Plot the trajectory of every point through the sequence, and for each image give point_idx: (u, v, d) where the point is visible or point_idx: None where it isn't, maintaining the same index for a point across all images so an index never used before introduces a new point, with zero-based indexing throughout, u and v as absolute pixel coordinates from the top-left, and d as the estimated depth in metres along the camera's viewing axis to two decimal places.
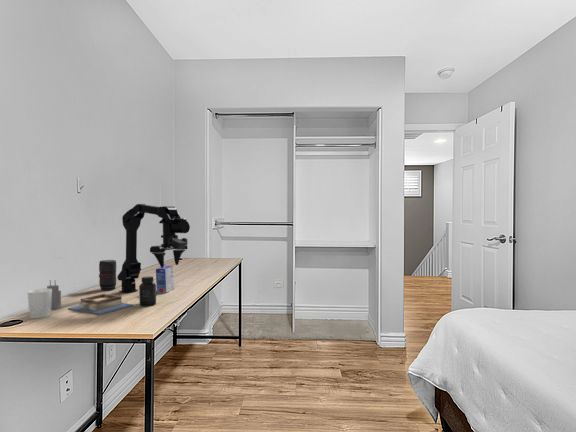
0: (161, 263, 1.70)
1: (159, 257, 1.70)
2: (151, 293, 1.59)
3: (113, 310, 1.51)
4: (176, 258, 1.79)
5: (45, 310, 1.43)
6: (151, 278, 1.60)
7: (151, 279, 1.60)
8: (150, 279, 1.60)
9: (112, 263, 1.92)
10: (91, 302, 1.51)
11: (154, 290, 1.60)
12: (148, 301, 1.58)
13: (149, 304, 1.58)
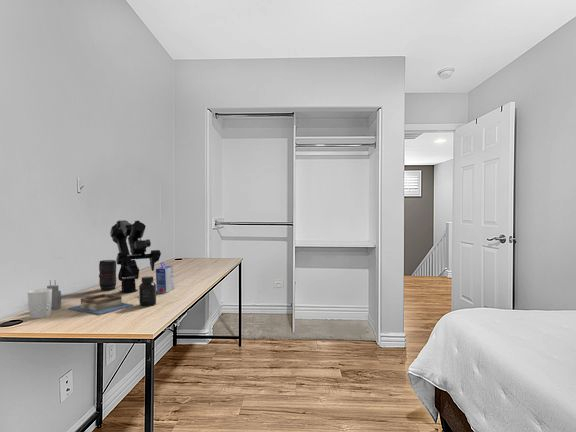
0: (129, 268, 1.65)
1: (126, 265, 1.67)
2: (151, 293, 1.59)
3: (113, 310, 1.51)
4: (151, 265, 1.73)
5: (45, 310, 1.43)
6: (151, 278, 1.60)
7: (151, 279, 1.60)
8: (150, 279, 1.60)
9: (112, 263, 1.92)
10: (91, 302, 1.51)
11: (154, 290, 1.60)
12: (148, 301, 1.58)
13: (149, 304, 1.58)
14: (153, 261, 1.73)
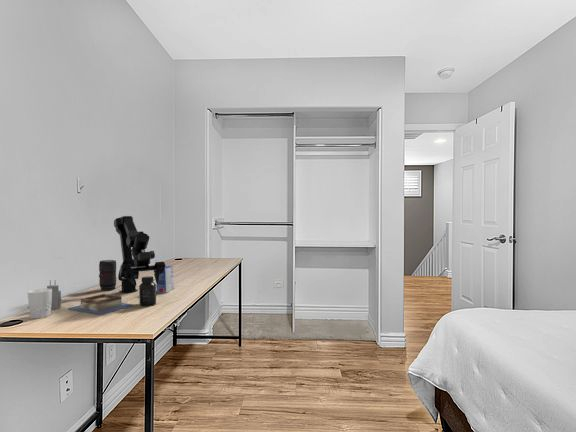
0: (133, 281, 1.60)
1: (130, 277, 1.62)
2: (151, 293, 1.59)
3: (113, 310, 1.51)
4: (155, 277, 1.67)
5: (45, 310, 1.43)
6: (151, 278, 1.60)
7: (151, 279, 1.60)
8: (150, 279, 1.60)
9: (112, 263, 1.92)
10: (91, 302, 1.51)
11: (154, 290, 1.60)
12: (148, 301, 1.58)
13: (149, 304, 1.58)
14: (157, 273, 1.67)
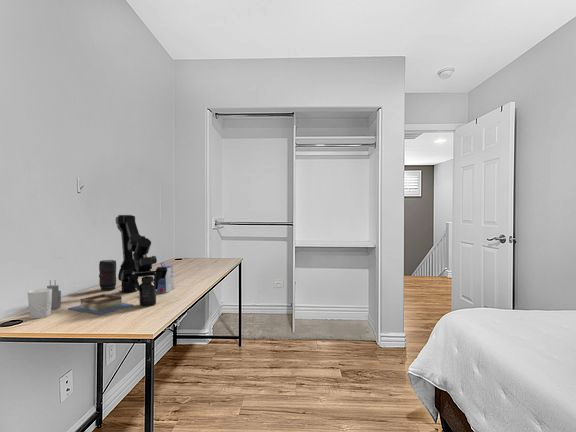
0: (137, 287, 1.59)
1: (134, 283, 1.60)
2: (151, 293, 1.59)
3: (113, 310, 1.51)
4: (155, 283, 1.64)
5: (45, 310, 1.43)
6: (151, 278, 1.60)
7: (151, 279, 1.60)
8: (150, 279, 1.60)
9: (112, 263, 1.92)
10: (91, 302, 1.51)
11: (154, 290, 1.60)
12: (148, 301, 1.58)
13: (149, 304, 1.58)
14: (157, 279, 1.64)
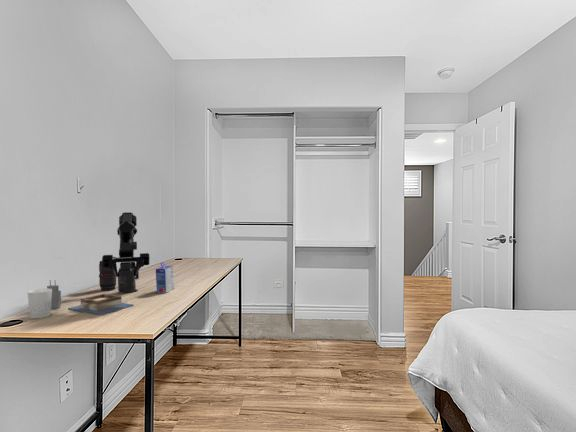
0: (115, 272, 1.56)
1: (114, 268, 1.59)
2: (128, 280, 1.55)
3: (113, 310, 1.51)
4: (135, 269, 1.60)
5: (45, 310, 1.43)
6: (129, 264, 1.57)
7: (128, 265, 1.57)
8: (127, 265, 1.56)
9: None
10: (91, 302, 1.51)
11: (131, 276, 1.56)
12: (125, 287, 1.55)
13: (126, 290, 1.55)
14: (137, 265, 1.60)
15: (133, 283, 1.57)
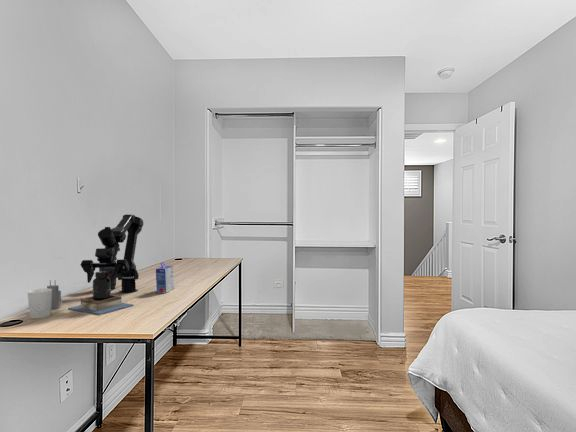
0: None
1: None
2: (100, 289, 1.54)
3: (113, 310, 1.51)
4: None
5: (45, 310, 1.43)
6: (102, 273, 1.55)
7: (102, 275, 1.55)
8: (101, 274, 1.55)
9: None
10: (91, 302, 1.51)
11: (103, 286, 1.54)
12: (96, 296, 1.54)
13: (97, 300, 1.54)
14: (114, 271, 1.58)
15: (106, 293, 1.55)
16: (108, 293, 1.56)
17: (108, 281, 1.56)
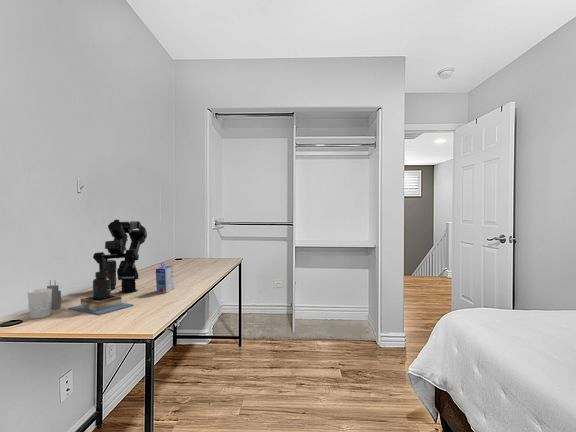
0: None
1: None
2: (100, 289, 1.54)
3: (113, 310, 1.51)
4: None
5: (45, 310, 1.43)
6: (102, 273, 1.55)
7: (102, 274, 1.55)
8: (101, 274, 1.55)
9: (112, 263, 1.92)
10: (91, 302, 1.51)
11: (103, 286, 1.54)
12: (96, 296, 1.54)
13: (97, 300, 1.54)
14: (125, 261, 1.67)
15: (106, 293, 1.55)
16: (108, 293, 1.56)
17: (108, 281, 1.56)
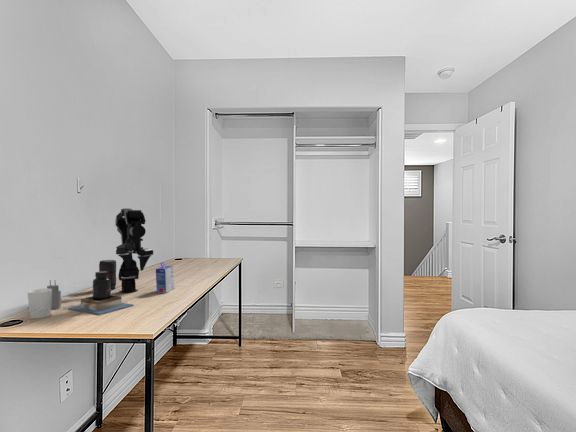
0: None
1: None
2: (100, 289, 1.54)
3: (113, 310, 1.51)
4: None
5: (45, 310, 1.43)
6: (102, 273, 1.55)
7: (102, 275, 1.55)
8: (101, 274, 1.55)
9: (112, 263, 1.92)
10: (91, 302, 1.51)
11: (103, 286, 1.54)
12: (96, 296, 1.54)
13: (97, 300, 1.54)
14: (140, 262, 1.71)
15: (106, 293, 1.55)
16: (108, 293, 1.56)
17: (108, 281, 1.56)
